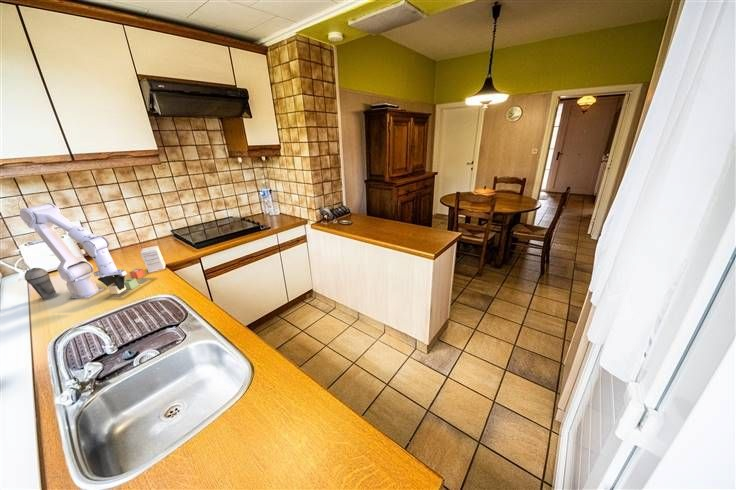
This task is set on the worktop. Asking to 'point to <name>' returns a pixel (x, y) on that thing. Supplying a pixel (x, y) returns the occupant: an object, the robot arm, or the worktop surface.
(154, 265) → the white packaging box
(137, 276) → the coral red cube
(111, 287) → the pale yellow cube
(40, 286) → the beverage cup
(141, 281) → the word mat
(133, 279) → the pale green cube
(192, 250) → the worktop surface
